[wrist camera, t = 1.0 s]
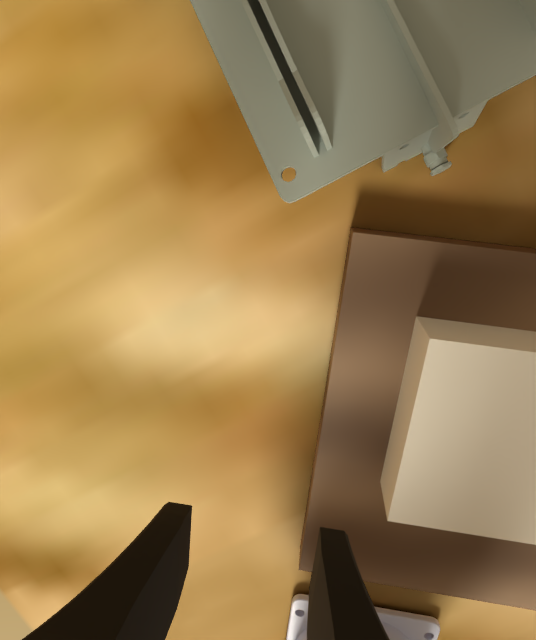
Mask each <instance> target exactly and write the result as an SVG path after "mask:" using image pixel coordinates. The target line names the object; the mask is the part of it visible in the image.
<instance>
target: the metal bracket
mask: <svg viewBox="0 0 536 640" xmlns="http://www.w3.org/2000/svg"><path fill="white" fill-rule="evenodd" d="M190 1H191V3H192V6H193V8H194V10H195V12H196V14H197V16H198V19H199V21H200V23H201V25H202V27H203V30H204V32H205V34H206V36H207V38H208V40H209V43H210V45H211V47H212V49H213V51H214V53H215V56H216V58H217V60H218V62H219V64H220V67H221V69H222V71H223V73H224V75H225V77H226V80H227V82H228V84H229V86H230V88H231V91H232V93H233V95H234V97H235V99H236V101H237V104H238V106H239V108H240V110H241V112H242V114H243V117H244V119H245V121H246V123H247V125H248V128H249V130H250V132H251V134H252V136H253V138H254V141H255V143H256V145H257V147H258V149H259V152H260V154H261V156H262V158H263V160H264V162H265V165H266V167H267V169H268V171H269V173H270V175H271V178H272V180H273V182H274V184H275V186H276V189H277V191H278V193H279V195H280V197H281V198H282V199H283V200H284V201H285V202H288V203H292V202H296V201H297V200H299V199H301V198H303V197H305V196H307V195H309V194H311V193H313V192H315V191H316V190H318V189H320V188H322V187H324V186H326V185H328V184H330V183H332V182H334V181H335V180H337V179H339V178H341V177H343V176H345V175H347V174H349V173H351V172H353V171H354V170H356V169H358V168H360V167H362V166H364V165H366V164H368V163H370V162H372V161H374V160H375V159H377V158H379V157H381V156H382V170H383V173H384V172H386V171H388V170H390V169H392V168H393V167H395V166H397V165H398V164H399V163H400V162H402V161H404V160H405V161H407V160H409V159H411V158H413V157H415V156H417V155H419V154H421V153H423V155H424V161H425V164H426V166H427V168H428V167H430V169H431V173H430V174H431V176H434V175H436V174H439V173H441V172H443V171H444V170H446V169H448V168H449V167H450V166H451V165H452V163H451V161H450V162H448V160H447V158H446V157H447V153H446V151H445V149H444V147H445V146H446V145H448V144H449V143H450V142H452V141H453V140H454V139H455V138H457V137H458V136H459V133H461V132H463V131H465V130H467V129H469V128H471V127H473V126H474V124H475V122H476V120H477V119H478V117H479V115H480V113H481V111H482V110H483V108H484V106H485V104H486V103H487V101H488V100H489V99H491V98H493V97H495V96H497V95H499V94H501V93H503V92H505V91H507V90H509V89H510V88H512V87H514V86H516V85H518V84H520V83H522V82H524V81H526V80H528V79H529V78H531V77H533V76H535V75H536V0H190ZM289 167H291V168H294V169H295V170H296V176H295V179H294V180H292V181H290V182H286V181H284V180H283V179H282V173H283V171H284V170H285V169H286V168H289Z"/></svg>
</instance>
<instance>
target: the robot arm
mask: <svg viewBox="0 0 536 640" xmlns="http://www.w3.org/2000/svg"><path fill="white" fill-rule="evenodd" d="M191 513H192V506H191V505H185V504H178V503H172V502H168V503H167V504H165V505H164V506H163V507H162V509H161V510H160V511H159V512H158V513H157V515H156V516H155V517H154V518H153V519H152V521H151V522H150V523H149V524H148V525H147V526H146V527H145V529H144V530H143V531H142V532H141V533H140V534H139V535H138V536H137V537H136V538H135V539H134V541H133V542H132V543H131V544H130V545H129V546H128V547H127V548H126V549H125V550H124V551H123V552H122V553H121V554H120V555H119V556H118V557H117V558H116V559H115V560H114V561H113V562H112V563H111V564H110V565H109V566H108V567H107V568H106V569H105V570H104V571H103V572H102V573H101V574H100V575H99V576H98V577H96V578H95V579H94V580H93V581H92V582H91V583H90V584H89V585H88V586H87V587H86V588H85V589H84V590H83V591H81V592H80V593H79V594H78V595H77V596H76V597H75V598H73V599H72V600H71V601H70V602H69V603H68V604H66V605H65V606H64V607H63V608H62V609H61V610H59V611H58V612H57V613H56V614H54V615H53V616H52V617H51V618H49V619H48V620H47V621H46V622H44V623H43V624H42V625H41V626H39V627H38V628H37V629H35V630H34V631H33V632H31V633H30V634H29V635H27V636H26V637H25V638H23V639H22V640H165V638H166V636H167V633H168V630H169V628H170V625H171V623H172V620H173V617H174V615H175V612H176V610H177V606H178V603H179V599H180V596H181V592H182V589H183V585H184V581H185V578H186V574H187V570H188V566H189V549H190V531H191ZM439 632H440V625H439V622H438V620H437V619H436V618H434V617H431V616H425V615H419V614H414V613H408V612H402V611H397V610H391V609H385V608H380V607H374V605H373V603H372V601H371V598H370V596H369V594H368V592H367V589H366V587H365V584H364V582H363V579H362V577H361V574H360V571H359V569H358V566H357V563H356V560H355V558H354V555H353V552H352V548H351V545H350V542H349V538H348V535H347V534H346V532H345V531H343V530H337V529H331V528H325V527H320V529H319V535H318V541H317V547H316V552H315V558H314V564H313V570H312V575H311V581H310V587H309V595H305V594H297V595H295V596H294V597H293V599H292V604H291V610H290V617H289V623H288V629H287V635H286V640H437V639H438V635H439Z"/></svg>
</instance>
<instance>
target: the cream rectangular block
mask: <svg viewBox="0 0 536 640" xmlns="http://www.w3.org/2000/svg"><path fill="white" fill-rule="evenodd" d="M380 483H381V488H382V494H383V500H384V505H385V511H386V516H387V521H391V522H397V523H403V524H409V525H416V526H422V527H428V528H434V529H440V530H446V531H453V532H459V533H465V534H471V535H477V536H484V537H490V538H496V539H502V540H508V541H515V542H521V543H527V544H533V545H536V332H535V331H527V330H519V329H511V328H504V327H496V326H488V325H480V324H473V323H465V322H457V321H449V320H442V319H434V318H426V317H418V316H416V320H415V324H414V329H413V333H412V338H411V342H410V347H409V352H408V356H407V361H406V365H405V370H404V374H403V379H402V384H401V388H400V393H399V397H398V402H397V406H396V411H395V416H394V420H393V425H392V429H391V434H390V439H389V443H388V448H387V452H386V457H385V461H384V466H383V471H382V475H381V480H380Z"/></svg>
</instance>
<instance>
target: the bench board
mask: <svg viewBox="0 0 536 640" xmlns="http://www.w3.org/2000/svg"><path fill="white" fill-rule="evenodd" d="M416 316H418V317H426V318H434V319H442V320H449V321H457V322H465V323H473V324H480V325H488V326H496V327H504V328H511V329H519V330H527V331H535V332H536V249H534V248H526V247H517V246H508V245H500V244H491V243H483V242H474V241H465V240H457V239H448V238H440V237H431V236H422V235H414V234H405V233H397V232H388V231H379V230H371V229H362V228H354V227H351V229H350V236H349V242H348V248H347V255H346V261H345V267H344V274H343V280H342V286H341V293H340V299H339V305H338V311H337V318H336V324H335V330H334V337H333V343H332V349H331V356H330V362H329V368H328V375H327V381H326V387H325V394H324V400H323V406H322V412H321V419H320V425H319V431H318V438H317V444H316V450H315V457H314V463H313V469H312V476H311V482H310V488H309V495H308V501H307V507H306V513H305V520H304V526H303V532H302V539H301V545H300V559H299V570H303V571H308V572H312V570H313V564H314V558H315V552H316V547H317V541H318V535H319V529H320V527H325V528H331V529H337V530H343V531H345V532H346V534H347V535H348V538H349V542H350V545H351V548H352V552H353V555H354V558H355V560H356V563H357V566H358V569H359V571H360V574H361V577H362V579H363V581H367V582H373V583H378V584H384V585H390V586H396V587H402V588H408V589H413V590H419V591H425V592H431V593H437V594H443V595H448V596H454V597H460V598H466V599H472V600H477V601H483V602H489V603H495V604H501V605H507V606H512V607H518V608H524V609H530V610H536V545H533V544H527V543H521V542H515V541H508V540H502V539H496V538H490V537H484V536H477V535H471V534H465V533H459V532H453V531H446V530H440V529H434V528H428V527H422V526H416V525H409V524H403V523H397V522H391V521H387V516H386V511H385V505H384V500H383V494H382V488H381V483H380V480H381V475H382V471H383V466H384V461H385V457H386V452H387V448H388V443H389V439H390V434H391V429H392V425H393V420H394V416H395V411H396V406H397V402H398V397H399V393H400V388H401V384H402V379H403V374H404V370H405V365H406V361H407V356H408V352H409V347H410V342H411V338H412V333H413V329H414V324H415V320H416Z"/></svg>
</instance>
